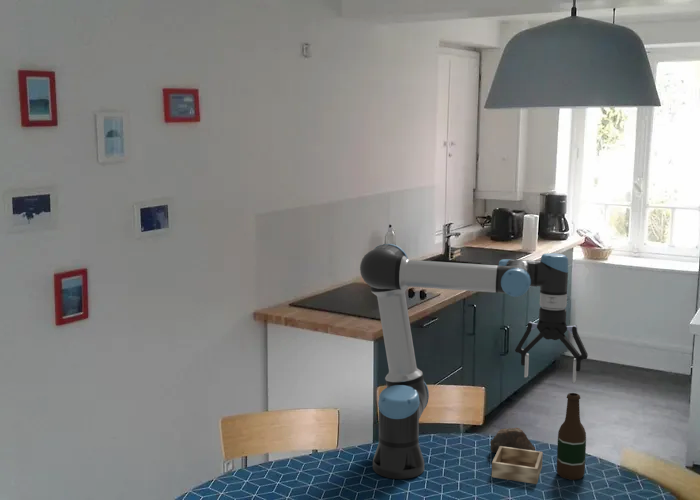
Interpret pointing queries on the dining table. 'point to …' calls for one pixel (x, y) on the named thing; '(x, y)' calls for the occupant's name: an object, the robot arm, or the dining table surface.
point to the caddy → (517, 464)
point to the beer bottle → (571, 442)
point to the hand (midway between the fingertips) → (549, 379)
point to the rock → (511, 440)
